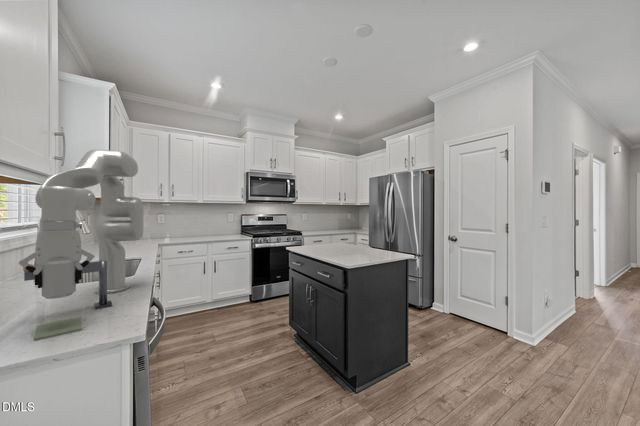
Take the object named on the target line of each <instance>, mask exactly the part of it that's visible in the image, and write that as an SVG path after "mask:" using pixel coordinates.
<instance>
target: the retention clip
mask: <svg viewBox="0 0 640 426" xmlns="http://www.w3.org/2000/svg"><path fill="white" fill-rule="evenodd" d="M81 263H82V262H80V264H81ZM29 264H30V265H31V266H33V267H34V268H36V267H35V264H32V263H29ZM76 268H77V267H76ZM22 270H23V272H24V273H23V276H24V277H23V280H24V282H27V281H28V282H29V281H35V275H34V274H33V273H31V272H29V271H28V270H26V269H25V268H24V267H22ZM96 272H98V287H99V293H98V302H99V304H104V303H107V301H108V293H107V261H99V260H97V261H90V262H89V264H88V265H86V266H85V267H84V268H83V269H82V274H89V273H90V274H91V273H96ZM41 273H42V270H41Z"/></svg>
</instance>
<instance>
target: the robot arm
mask: <svg viewBox="0 0 640 426" xmlns="http://www.w3.org/2000/svg"><path fill="white" fill-rule="evenodd" d="M138 171H139V167H138V162H137V161H136V160H135V159H134V158H133V157H132V156H131V155H129V154H127V153H126V152H124V151H120V150H113V149H112V150H111V149H110V150H109V149H90V150H88V151H87V152H86V153H84V155H83V156H82V158H81V159H80V160H79V162H78V163H77V164H76V166H75V167H74V168H71V169H70V168H69V169H67V170H64V171H61V172H59V173H56V174H54V175H52V176H50V177H48V178H47V179H46V180H45V181H44V182H43V183H42V184H41V186H40V187H39V188H38V189H37V192H36V193H35V199H34V200H35V203H36V205H37V206H38V207H39V208H40V209H41V231H38V232H37V235H36V238H35V239H36V240H35V249H34V252H33V253H31V254H30V255H28V256H26V257H24V258H23V259H21V260H20V261H18V264H19V265H20V266H21V267H22V268H23V267H24V268H25V269H26V270H28V271H29V272H31V273H33V274H34V275H35V280H34V286H37V288H38V289H42V273H41V270H42V269H43V268H42V267H43V265H44V264H45V263H47V262H48V261H49V259H54V258H65V257H69V258H68V259H69V260H71V261H73V262H74V263H75V266H76V267H77V268H76V284H79V283H80V282H79V281H80V280H81V281H82V279H83V278H82V277H83V276H82V269H83V268H84V267H85V266H86V265H88V264H89V262H92V260H93V259H94V258H95V255H94V253H90V252H88V251H86V250H85V249H82V240H81V234H80V231H79V230H76V229H77V228H82V227H83V222H78V221H77V217H76V216H77V211H88V210H90V209H92V208H93V207H94V206H95V204H96V200H97V199H96V195H95V193H93V191H91V190H90V189H88V188H90V187H94V186H96V185H100V212H101V215H102V216H104V217H105V218H129V219H130V220H129V219H128V220H127V219H126V220H125V219H122V220H120V219H119V220H117V219H115V220H114V219H112V220H111V219H109V220H104V221H101V222H98V224H97V225H96V228H95V229H96V230H95V234H96V239H97V243H98V261H107V294H114V293H119V292H122V291H125V290H128V289H130V284H129V283H126V249H125V247H124V246H123V245H122V244H121V243H120V242H133V241H134V242H135V241H139V240H141V239H142V238H143V236H144V214H145V213H144V204H143V200H142V199H140V198H139V197H135V196H125V186H124V183H122V181H121V179H119V178H121V177H122V178H133V177H135V176H136V175H137V174H138ZM118 177H119V178H118ZM82 256H85V257H86V259H84V261H82V262H80V261H81V260H82ZM32 260H34V262H35V264H34V265H36V266H37V267H35V266H34V267H35V268H34V267H33V266H31V265H30V264H31V263H29V262H30V261H32ZM80 263H81V264H80ZM94 293H95V294H99V286H98V287H96V288H95V289H94Z"/></svg>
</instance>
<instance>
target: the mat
mask: <svg viewBox="0 0 640 426" xmlns="http://www.w3.org/2000/svg"><path fill="white" fill-rule="evenodd" d="M79 331H83V325H82V317H81V316H78V317H71V318H67V319H61V320H58V321H52V322H46V323H42V324H37V326H36V329H35V333H34V336H33V341H35V340H36V341H40V340H45V339H48V338H53V337H57V336H62V335H66V334H70V333H74V332H76V333H77V332H79Z"/></svg>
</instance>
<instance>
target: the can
mask: <svg viewBox="0 0 640 426" xmlns="http://www.w3.org/2000/svg"><path fill="white" fill-rule="evenodd" d="M68 258H69V257H65V258H54V259H49V261H48V262H47V263H45V264H44V265H43V267H42V268H43V269H42V288H41V296H42V297H43V298H45V299H49V300H53V299H61V298H66V297H70V296H72V295H73V294H74V293H75V292H76V291H77V283H76V266H75V263H74V262H73V261H71V260H69V259H68Z"/></svg>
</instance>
